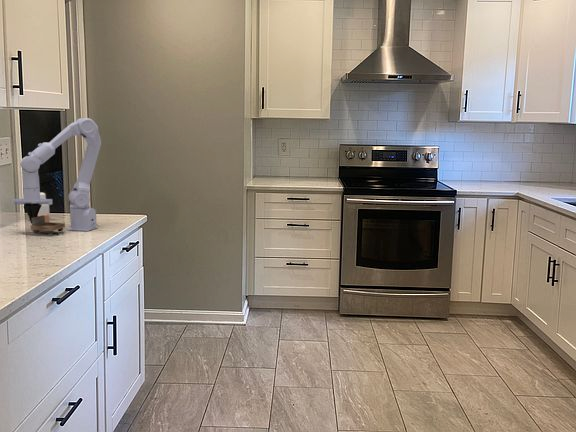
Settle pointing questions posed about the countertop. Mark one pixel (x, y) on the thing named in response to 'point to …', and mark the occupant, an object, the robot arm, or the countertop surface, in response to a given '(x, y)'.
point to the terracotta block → (45, 217)
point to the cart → (45, 225)
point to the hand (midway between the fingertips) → (33, 223)
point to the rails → (41, 234)
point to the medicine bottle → (44, 208)
